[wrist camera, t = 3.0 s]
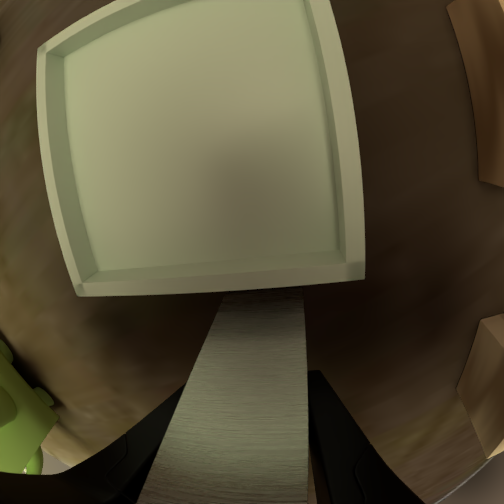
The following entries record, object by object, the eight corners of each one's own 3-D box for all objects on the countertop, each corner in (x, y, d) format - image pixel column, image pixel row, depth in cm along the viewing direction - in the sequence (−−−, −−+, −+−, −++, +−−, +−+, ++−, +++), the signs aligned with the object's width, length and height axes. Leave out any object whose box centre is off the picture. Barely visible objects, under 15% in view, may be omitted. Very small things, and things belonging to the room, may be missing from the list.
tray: (353, 257, 10) (364, 279, 8) (99, 278, 12) (77, 296, 10) (310, -21, 6) (312, -46, 5) (63, 54, 8) (37, 48, 7)
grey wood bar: (306, 347, 12) (303, 559, 3) (238, 351, 12) (183, 547, 4) (302, 287, 11) (304, 545, 2) (225, 292, 11) (130, 518, 3)
